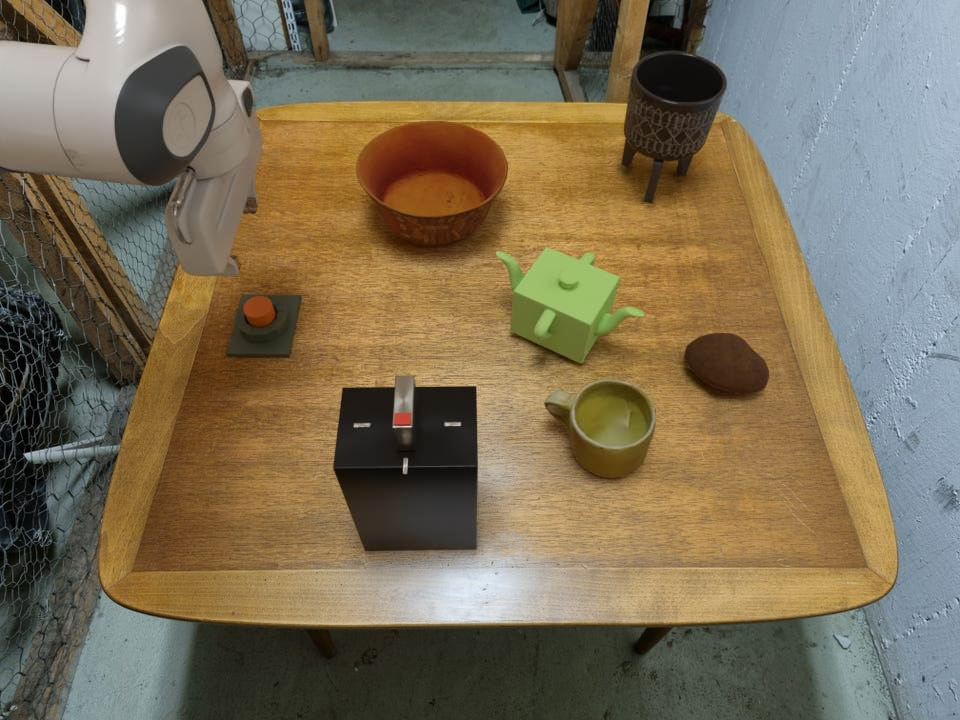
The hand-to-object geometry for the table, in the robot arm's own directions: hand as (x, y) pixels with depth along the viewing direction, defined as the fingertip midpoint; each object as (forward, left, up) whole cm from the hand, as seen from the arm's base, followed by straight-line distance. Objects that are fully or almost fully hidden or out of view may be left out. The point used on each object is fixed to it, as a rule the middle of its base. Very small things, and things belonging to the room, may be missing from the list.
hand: (242, 239), depth 75 cm
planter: (+59, -21, -17) cm, 65 cm away
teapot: (+25, -28, -17) cm, 41 cm away
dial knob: (-6, -32, +3) cm, 32 cm away
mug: (+14, -41, -17) cm, 46 cm away
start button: (0, +2, -15) cm, 15 cm away
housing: (0, +2, -17) cm, 17 cm away
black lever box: (-6, -32, -17) cm, 36 cm away
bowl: (+30, -1, -17) cm, 35 cm away
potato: (+32, -48, -17) cm, 60 cm away
